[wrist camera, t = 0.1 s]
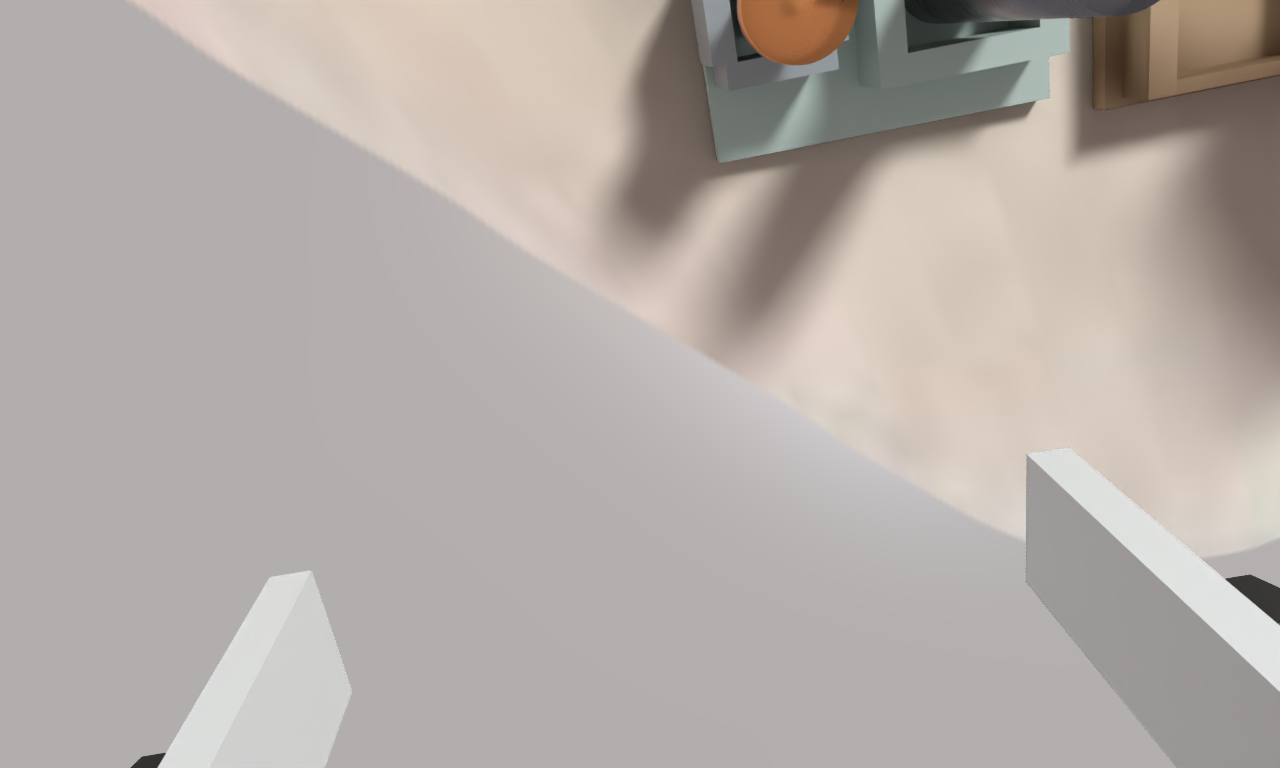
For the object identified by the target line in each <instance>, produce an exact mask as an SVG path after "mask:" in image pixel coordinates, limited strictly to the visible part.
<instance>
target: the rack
mask: <svg viewBox="0 0 1280 768" xmlns="http://www.w3.org/2000/svg"><path fill="white" fill-rule="evenodd" d="M1275 76H1280V0H1160V1H1158V2H1157V3H1155V4H1154V5H1152V6H1150V7H1148V8H1147V9H1144V10H1142V11H1139V12H1137V13H1133V14H1129V15H1122V16H1105V17H1093V109H1101V110H1108V109H1113V108H1118V107H1123V106H1128V105H1133V104H1138V103H1143V102H1148V101H1153V100H1158V99H1163V98H1168V97H1173V96H1178V95H1184V94H1189V93H1194V92H1199V91H1204V90H1209V89H1214V88H1219V87H1224V86H1229V85H1234V84H1239V83H1244V82H1249V81H1254V80H1259V79H1264V78H1270V77H1275Z"/></svg>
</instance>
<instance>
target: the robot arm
mask: <svg viewBox="0 0 1280 768" xmlns="http://www.w3.org/2000/svg"><path fill="white" fill-rule="evenodd" d="M1026 583H1027V584H1028V585H1029V587H1030V588H1031V589H1032V590H1033V591H1034V593H1035V594H1036V595H1037V596H1038V598H1039V599H1040V600H1041V601H1042V603H1043V604H1044V605H1045V606H1046V607H1047V609H1048V610H1049V611H1050V612H1051V613H1052V615H1053V616H1054V617H1055V619H1056V620H1057V621H1058V622H1059V623H1060V625H1061V626H1062V627H1063V628H1064V629H1065V631H1066V632H1067V633H1068V634H1069V636H1070V637H1071V638H1072V639H1073V641H1074V642H1075V643H1076V644H1077V646H1078V647H1079V648H1080V649H1081V651H1082V652H1083V653H1084V654H1085V656H1086V657H1087V658H1088V659H1089V660H1090V661H1091V663H1092V664H1093V665H1094V667H1095V668H1096V669H1097V670H1098V672H1100V674H1101V675H1102V676H1103V678H1104V679H1105V680H1106V681H1107V683H1108V684H1109V685H1110V686H1111V688H1112V689H1113V690H1114V691H1115V692H1116V694H1117V695H1118V696H1119V697H1120V699H1121V700H1122V701H1123V702H1124V703H1125V705H1126V706H1127V707H1128V708H1129V710H1130V711H1131V712H1132V713H1133V715H1134V716H1135V717H1136V718H1137V719H1138V721H1139V722H1140V723H1141V724H1142V726H1143V727H1144V728H1145V729H1146V730H1147V732H1148V733H1149V734H1150V736H1151V737H1152V738H1153V739H1154V740H1155V742H1156V743H1157V744H1158V745H1159V747H1160V748H1161V749H1162V750H1163V751H1164V753H1165V754H1166V755H1167V756H1168V757H1169V759H1170V760H1171V761H1172V763H1173V764H1174V765H1175V766H1176V768H1280V588H1279V587H1276V586H1274V585H1272V584H1270V583H1268V582H1265V581H1263V580H1261V579H1259V578H1256V577H1254V576H1252V575H1245V576H1239V577H1232V578H1226V579H1224V578H1223V577H1222V576H1220V575H1219V574H1218V573H1217V572H1216V571H1215V570H1213V569H1212V568H1211V567H1210V566H1209V565H1207V564H1206V563H1205V562H1204V561H1203V560H1202V559H1200V558H1199V557H1198V556H1197V555H1196V554H1194V553H1193V552H1192V551H1191V550H1190V549H1188V548H1187V547H1186V546H1185V545H1184V544H1183V543H1181V542H1180V541H1179V540H1178V539H1177V538H1175V537H1174V536H1173V535H1172V534H1171V533H1169V532H1168V531H1167V530H1166V529H1165V528H1164V527H1162V526H1161V525H1160V524H1159V523H1158V522H1156V521H1155V520H1154V519H1153V518H1152V517H1151V516H1149V515H1148V514H1147V513H1146V512H1145V511H1143V510H1142V509H1141V508H1140V507H1139V506H1137V505H1136V504H1135V503H1134V502H1133V501H1132V500H1130V499H1129V498H1128V497H1127V496H1126V495H1124V494H1123V493H1122V492H1121V491H1120V490H1119V489H1117V488H1116V487H1115V486H1114V485H1113V484H1111V483H1110V482H1109V481H1108V480H1107V479H1105V478H1104V477H1103V476H1102V475H1101V474H1100V473H1098V472H1097V471H1096V470H1095V469H1094V468H1092V467H1091V466H1090V465H1089V464H1088V463H1087V462H1085V461H1084V460H1083V459H1082V458H1081V457H1079V456H1078V455H1077V454H1076V453H1075V452H1073V451H1072V450H1071V449H1070V448H1069V447H1067V448H1061V449H1055V450H1049V451H1043V452H1037V453H1030V454H1027V479H1026ZM351 693H352V689H351V686H350V683H349V681H348V677H347V674H346V671H345V668H344V665H343V663H342V660H341V657H340V654H339V651H338V648H337V645H336V642H335V639H334V636H333V633H332V630H331V627H330V624H329V621H328V618H327V615H326V612H325V609H324V606H323V603H322V600H321V597H320V594H319V591H318V588H317V585H316V582H315V579H314V576H313V574H312V571H305V572H299V573H293V574H286V575H280V576H274V577H270V578H269V580H268V581H267V583H266V585H265V586H264V588H263V590H262V591H261V593H260V595H259V597H258V598H257V600H256V602H255V603H254V605H253V607H252V608H251V610H250V612H249V614H248V615H247V617H246V619H245V620H244V622H243V624H242V625H241V627H240V629H239V631H238V632H237V634H236V636H235V637H234V639H233V641H232V642H231V644H230V646H229V647H228V649H227V651H226V653H225V654H224V656H223V658H222V659H221V661H220V663H219V664H218V666H217V668H216V670H215V671H214V673H213V675H212V676H211V678H210V680H209V681H208V683H207V685H206V687H205V688H204V690H203V692H202V693H201V695H200V697H199V698H198V700H197V702H196V703H195V705H194V707H193V709H192V710H191V712H190V714H189V715H188V717H187V719H186V720H185V722H184V724H183V726H182V727H181V729H180V731H179V732H178V734H177V736H176V738H175V739H174V741H173V743H172V744H171V746H170V748H169V749H168V751H167V753H162V754H155V755H150V756H143V757H141V758H140V759H139V760H138V761H137V762H136V763H135V764H134V765H133V766H132V767H131V768H325V766H326V763H327V760H328V757H329V754H330V752H331V749H332V746H333V743H334V740H335V738H336V735H337V732H338V729H339V727H340V723H341V721H342V718H343V715H344V713H345V710H346V707H347V704H348V701H349V699H350V696H351Z"/></svg>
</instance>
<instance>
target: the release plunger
mask: <svg viewBox="0 0 1280 768" xmlns="http://www.w3.org/2000/svg"><path fill="white" fill-rule="evenodd" d="M858 2H859V0H737V3H736V15H737V20H738V23H739V26H740V28H741V30H742V33H743V35H744V37H745V38H746V40H747V42H748V43H749V44H750V46H751V47H752V48H753V49H754V50H755V51H756V52H757V53H758V54H760V55H761V56H763V57H764V58H766V59H768V60H770V61H772V62H776V63H779V64H785V65H807V64H811V63H814V62H817V61H819V60H822V59H823V58H825V57H827V56H828V55H830V54H831V53H832V52H834V51H835V50H836V49H837V48H838V47H839V46H840V45H841V44H842V42H843V41H844V40H845V39H846V37H847V36H848V34H849V32H850V30H851V28H852V26H853V24H854V21H855V18H856V15H857V10H858Z"/></svg>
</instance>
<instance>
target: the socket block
mask: <svg viewBox="0 0 1280 768" xmlns="http://www.w3.org/2000/svg"><path fill="white" fill-rule="evenodd" d="M736 3H737V0H691V5H692V12H693V18H694V25H695V31H696V38H697V44H698V51H699V58H700V64H701V65H703V71H704V78H705V84H706V91H707V98H708V104H709V111H710V117H711V124H712V131H713V137H714V144H715V150H716V157H717V161H718V162H719V163H724V162H729V161H734V160H739V159H745V158H750V157H755V156H760V155H765V154H770V153H775V152H780V151H785V150H790V149H795V148H800V147H805V146H810V145H815V144H820V143H825V142H830V141H835V140H840V139H846V138H851V137H856V136H861V135H866V134H871V133H876V132H881V131H886V130H891V129H896V128H901V127H906V126H911V125H916V124H921V123H926V122H931V121H936V120H941V119H947V118H952V117H957V116H962V115H967V114H972V113H977V112H982V111H987V110H992V109H997V108H1002V107H1007V106H1012V105H1017V104H1022V103H1027V102H1032V101H1037V100H1042V99H1048V98H1050V89H1049V56H1054V55H1059V54H1064V53H1069V52H1070V18H1060V19H1037V20H1015V21H992V22H969V23H947V24H932V23H926V22H923V21H921V20H919V19H917V18H915V17H914V16H912V15H911V14H910V13H909V12H908V11H907V10H906V8H905V4H904V0H859V2H858V10H857V15H856V18H855V21H854V24H853V26H852V28H851V30H850V32H849V34H848V36H847V37H846V39H845V40H844V41H843V42H842V44H841V45H840V46H839V47H838V48H837V49H836V50H835V51H834V52H832V53H831V54H830V55H828V56H827V57H825V58H823V59H822V60H819V61H817V62H814V63H811V64H807V65H785V64H779V63H776V62H772V61H770V60H768V59H766V58H764V57H763V56H761V55H760V54H758V53H757V52H756V51H755V50H754V49H753V48H752V47H751V46H750V44H749V43H748V42H747V40H746V38H745V37H744V35H743V33H742V30H741V28H740V26H739V23H738V20H737V15H736Z"/></svg>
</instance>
